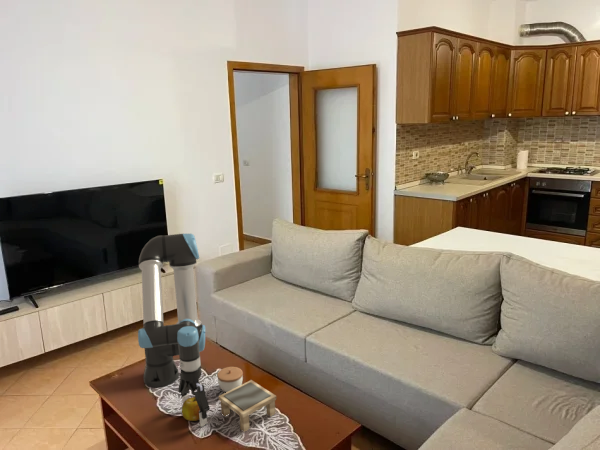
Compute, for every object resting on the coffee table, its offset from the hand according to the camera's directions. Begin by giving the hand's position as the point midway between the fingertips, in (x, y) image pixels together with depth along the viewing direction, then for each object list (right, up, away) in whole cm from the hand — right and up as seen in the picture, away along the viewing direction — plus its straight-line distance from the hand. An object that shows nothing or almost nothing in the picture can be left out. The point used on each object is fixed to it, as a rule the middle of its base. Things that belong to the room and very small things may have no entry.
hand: (195, 417), depth 179 cm
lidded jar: (+11, +4, +18) cm, 22 cm away
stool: (+21, +1, +1) cm, 21 cm away
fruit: (0, 0, 0) cm, 0 cm away
